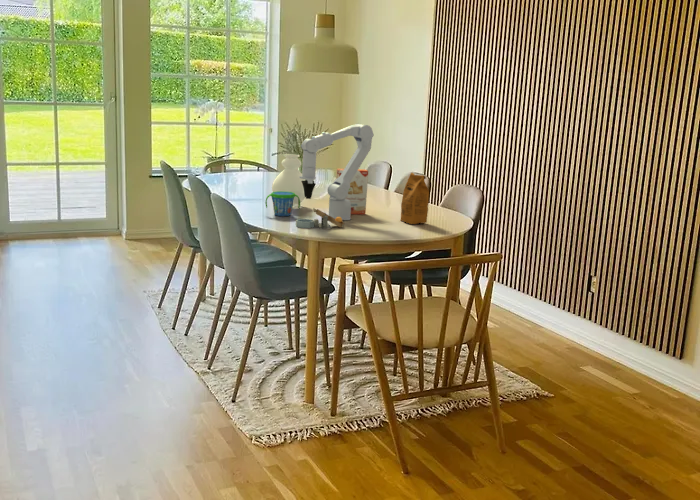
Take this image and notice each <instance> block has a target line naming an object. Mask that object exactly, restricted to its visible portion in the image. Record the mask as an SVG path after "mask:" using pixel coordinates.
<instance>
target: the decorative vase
mask: <svg viewBox="0 0 700 500" xmlns="http://www.w3.org/2000/svg"><path fill="white" fill-rule="evenodd" d="M283 157H285V158H283V159H282V161H281V163H280V164H281V166H282V167H283V168H284V169H283V170H282V171H281V172H279V174H278V175H276V177H275V179H273V182H272V185H271V191H272V192H277V191H286V192H293V193H295V194H296V195H297V196H298V197H299V199H300V207H299V208H300V209H303V208H304V205H303V204H301V203H302V202H303V200H304V199H306V197H305V194H304V188H303V184H302V182H301V181H305V179H302V178H299V176H302V172H301V170H299V168H300V167H301V166H302V161H301V160H300V159H299V158H300V154H295V153H285V154H284V153H283ZM298 197H296V196H295V197H294V200H293V206H292V210H297V209H298V210H299V208H298Z"/></svg>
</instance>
